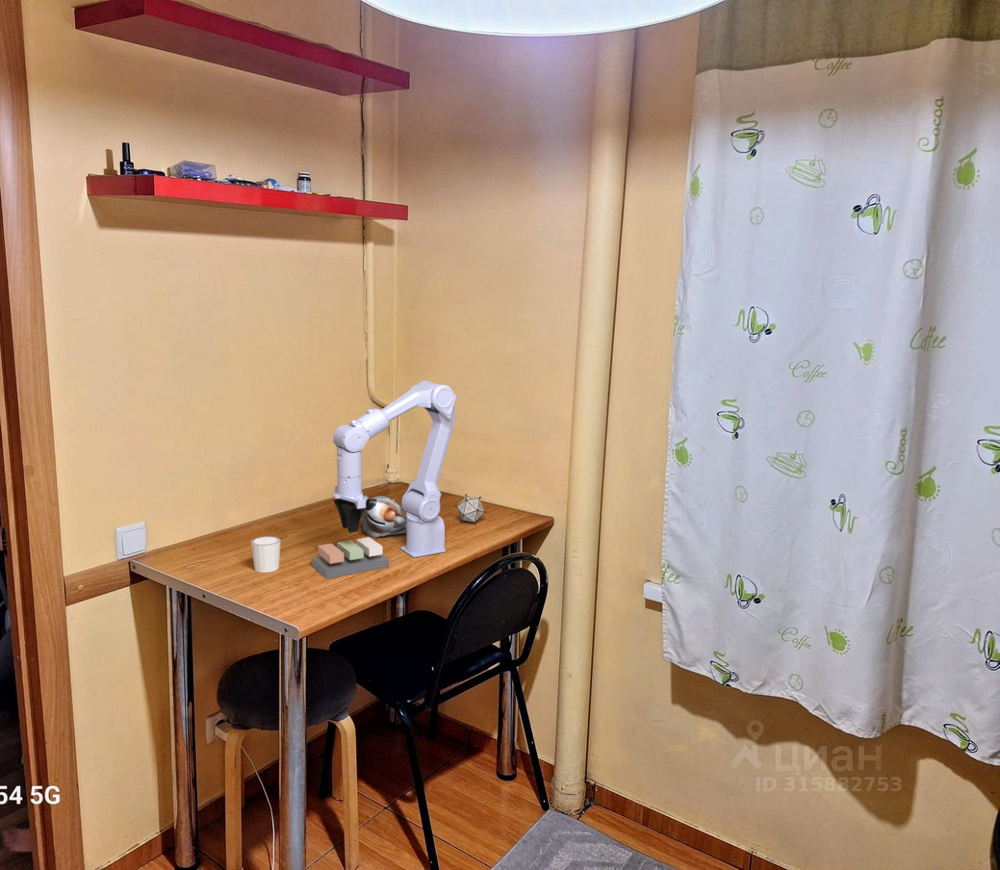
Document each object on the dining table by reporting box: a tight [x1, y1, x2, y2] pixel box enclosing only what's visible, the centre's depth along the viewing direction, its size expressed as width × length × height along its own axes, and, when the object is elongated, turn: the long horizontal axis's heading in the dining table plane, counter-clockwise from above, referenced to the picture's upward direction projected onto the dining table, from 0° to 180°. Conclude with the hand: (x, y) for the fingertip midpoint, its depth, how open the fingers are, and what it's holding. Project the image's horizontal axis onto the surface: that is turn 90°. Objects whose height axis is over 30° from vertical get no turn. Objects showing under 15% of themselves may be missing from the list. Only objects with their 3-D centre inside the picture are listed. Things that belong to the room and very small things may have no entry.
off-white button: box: [355, 536, 384, 557], centre depth 196 cm, size 4×8×2 cm, turn 33°
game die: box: [453, 493, 488, 526], centre depth 231 cm, size 9×8×10 cm
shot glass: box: [250, 536, 282, 573], centre depth 191 cm, size 7×7×7 cm
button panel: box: [311, 553, 390, 580], centre depth 194 cm, size 16×10×2 cm, turn 123°
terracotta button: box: [317, 543, 344, 564], centre depth 191 cm, size 4×8×2 cm, turn 33°
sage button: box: [336, 539, 364, 560], centre depth 193 cm, size 4×8×2 cm, turn 33°
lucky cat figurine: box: [360, 495, 407, 539], centre depth 217 cm, size 15×12×14 cm
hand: (350, 529), depth 192 cm, fingers open, 3 cm apart
